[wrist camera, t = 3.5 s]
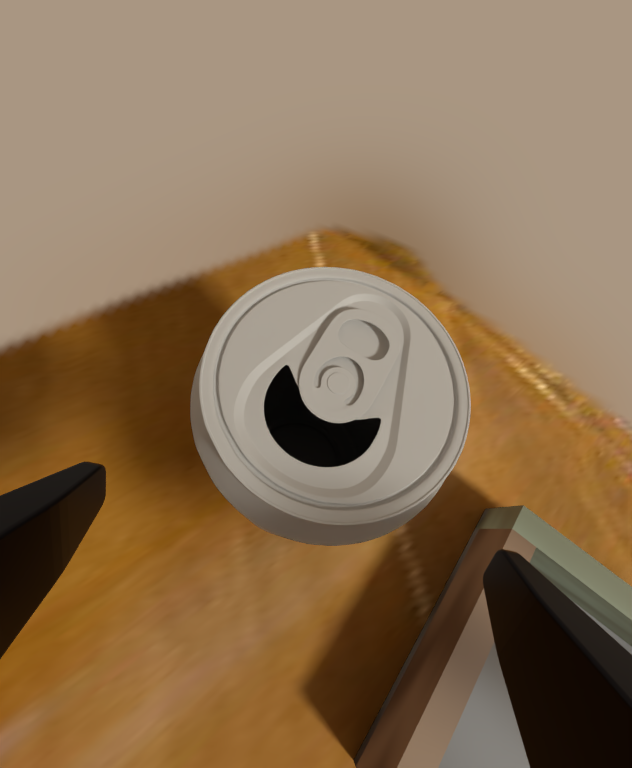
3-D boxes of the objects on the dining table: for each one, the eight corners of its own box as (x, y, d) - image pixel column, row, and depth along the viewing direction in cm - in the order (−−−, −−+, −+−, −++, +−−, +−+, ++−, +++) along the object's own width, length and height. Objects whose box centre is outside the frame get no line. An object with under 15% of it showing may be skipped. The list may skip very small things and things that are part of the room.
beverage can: (202, 492, 18) (100, 430, 7) (273, 384, 20) (287, 207, 9) (318, 563, 17) (420, 627, 6) (377, 445, 20) (527, 336, 9)
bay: (646, 1026, 13) (748, 1159, 10) (353, 760, 15) (374, 814, 12) (717, 686, 18) (803, 716, 15) (485, 508, 19) (523, 505, 16)
